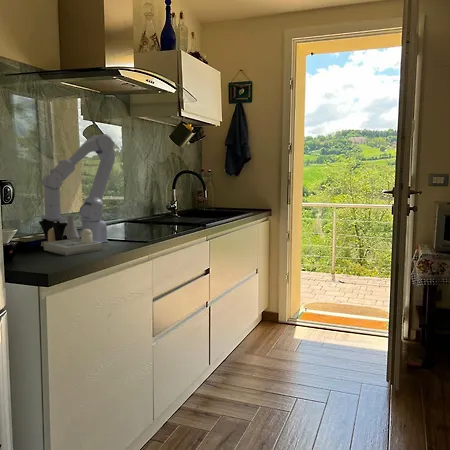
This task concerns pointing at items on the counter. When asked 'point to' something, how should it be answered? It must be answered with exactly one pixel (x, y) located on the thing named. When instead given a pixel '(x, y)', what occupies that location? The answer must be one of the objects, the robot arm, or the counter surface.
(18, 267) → the counter surface
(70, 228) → the flask
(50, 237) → the egg
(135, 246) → the counter surface
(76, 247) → the white square tray shape
